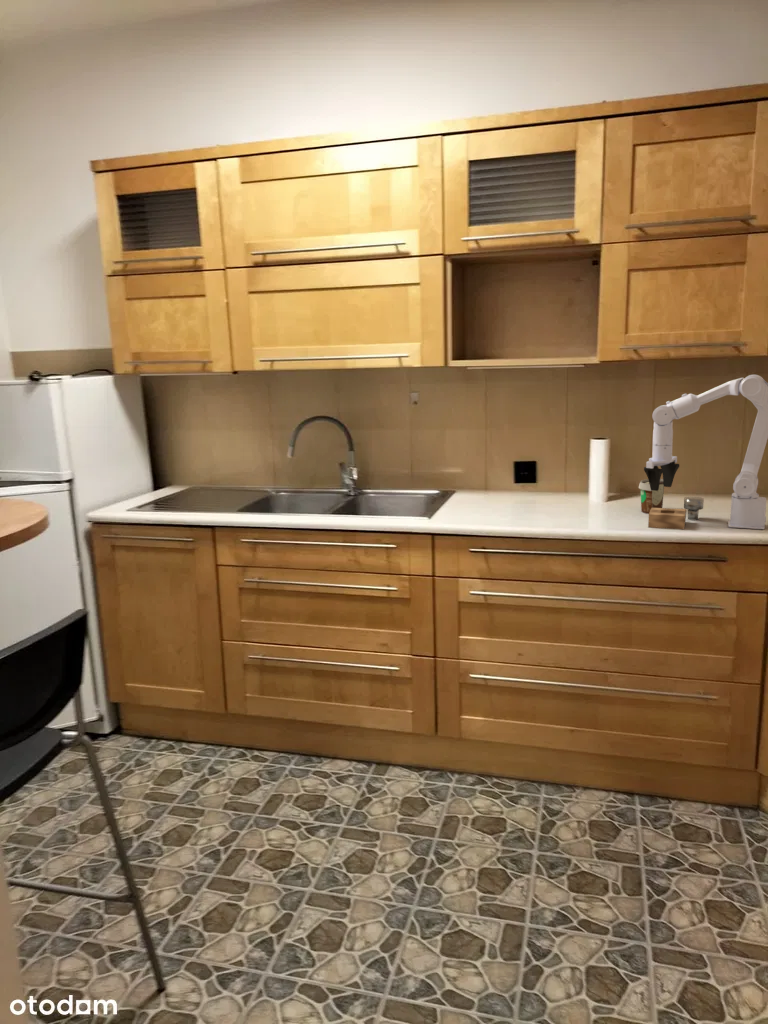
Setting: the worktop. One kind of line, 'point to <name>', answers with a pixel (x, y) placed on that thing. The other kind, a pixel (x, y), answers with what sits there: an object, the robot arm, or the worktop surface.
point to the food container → (651, 496)
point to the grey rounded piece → (693, 506)
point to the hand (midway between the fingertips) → (661, 488)
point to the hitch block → (667, 518)
